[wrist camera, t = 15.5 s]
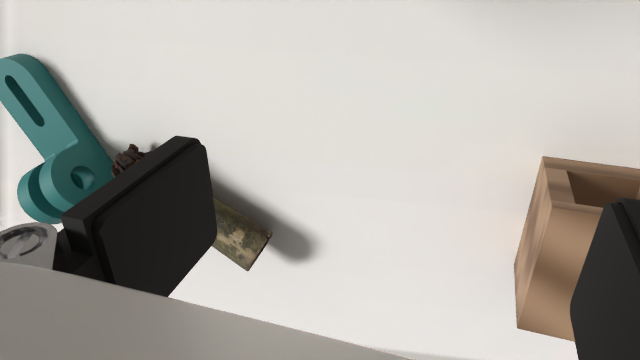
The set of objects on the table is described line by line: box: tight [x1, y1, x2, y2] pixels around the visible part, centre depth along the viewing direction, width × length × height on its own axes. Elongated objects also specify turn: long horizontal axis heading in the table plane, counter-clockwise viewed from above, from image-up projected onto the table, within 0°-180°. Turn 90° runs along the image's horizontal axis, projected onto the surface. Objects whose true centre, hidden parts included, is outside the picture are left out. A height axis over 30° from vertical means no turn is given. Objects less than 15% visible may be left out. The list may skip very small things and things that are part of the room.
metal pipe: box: [111, 144, 272, 271], centre depth 48 cm, size 18×7×6 cm, turn 62°
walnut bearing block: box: [514, 157, 640, 342], centre depth 35 cm, size 11×8×8 cm
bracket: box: [0, 54, 114, 224], centre depth 50 cm, size 18×7×8 cm, turn 30°
